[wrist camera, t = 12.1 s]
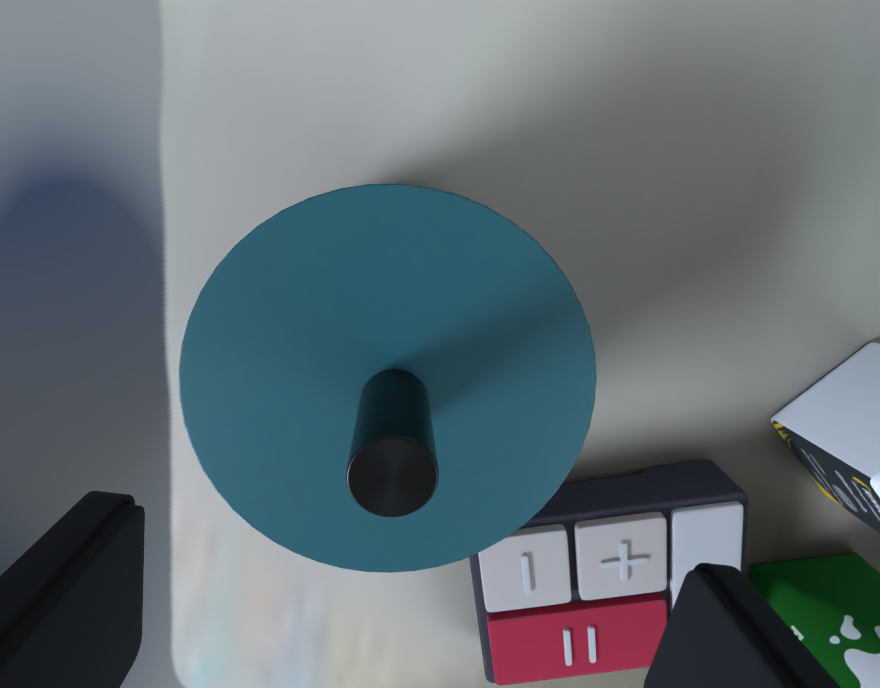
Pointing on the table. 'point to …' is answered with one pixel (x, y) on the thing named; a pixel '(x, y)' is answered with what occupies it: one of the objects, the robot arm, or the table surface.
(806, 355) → the table surface
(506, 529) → the lid
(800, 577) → the milk carton
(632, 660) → the calculator
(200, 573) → the table surface
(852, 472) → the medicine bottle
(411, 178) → the table surface
